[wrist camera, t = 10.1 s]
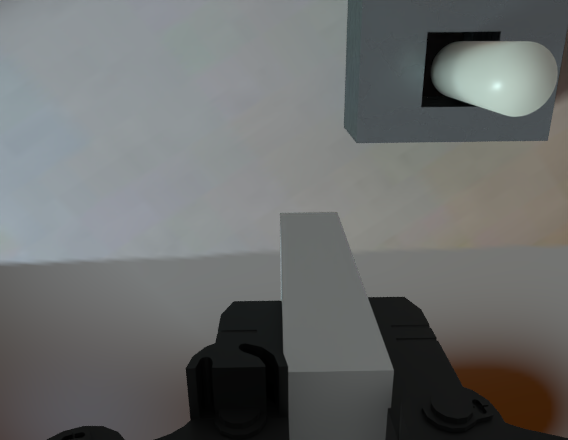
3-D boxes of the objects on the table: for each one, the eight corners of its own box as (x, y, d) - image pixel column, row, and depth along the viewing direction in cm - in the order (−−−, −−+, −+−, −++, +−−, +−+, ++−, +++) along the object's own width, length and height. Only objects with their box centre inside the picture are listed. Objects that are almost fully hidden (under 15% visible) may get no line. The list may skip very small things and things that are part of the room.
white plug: (428, 97, 35) (480, 117, 26) (433, 41, 34) (489, 41, 25) (481, 97, 35) (550, 116, 26) (488, 40, 34) (563, 40, 25)
